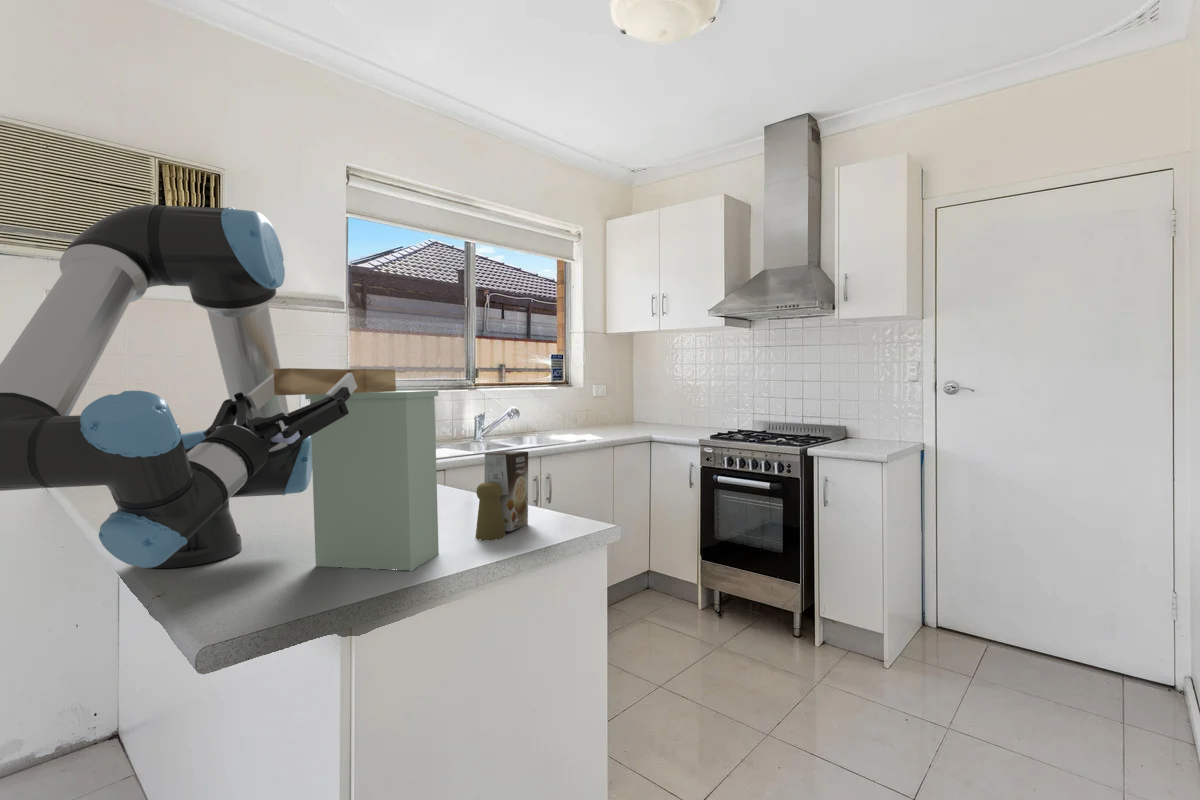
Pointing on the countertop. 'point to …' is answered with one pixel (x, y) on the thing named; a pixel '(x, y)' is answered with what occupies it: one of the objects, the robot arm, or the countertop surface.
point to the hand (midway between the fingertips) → (314, 380)
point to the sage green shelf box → (376, 482)
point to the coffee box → (510, 485)
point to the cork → (489, 512)
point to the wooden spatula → (331, 380)
